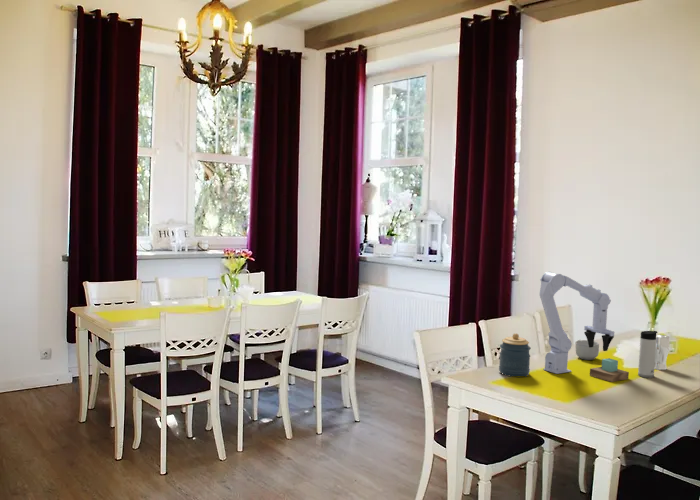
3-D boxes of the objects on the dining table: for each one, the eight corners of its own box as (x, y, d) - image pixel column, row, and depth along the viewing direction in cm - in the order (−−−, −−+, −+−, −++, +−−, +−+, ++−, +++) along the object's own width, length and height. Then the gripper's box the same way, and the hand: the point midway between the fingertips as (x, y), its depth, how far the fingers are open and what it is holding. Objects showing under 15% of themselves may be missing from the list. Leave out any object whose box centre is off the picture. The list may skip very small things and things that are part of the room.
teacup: (601, 361, 303) (602, 345, 302) (578, 360, 303) (579, 344, 302) (591, 354, 317) (592, 338, 316) (569, 354, 317) (570, 338, 316)
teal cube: (610, 372, 272) (611, 361, 271) (601, 369, 275) (602, 359, 275) (617, 370, 274) (617, 360, 273) (608, 368, 278) (609, 358, 277)
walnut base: (611, 381, 267) (611, 374, 267) (589, 375, 277) (590, 368, 277) (628, 378, 273) (628, 372, 273) (606, 372, 282) (606, 365, 282)
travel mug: (656, 378, 274) (659, 332, 273) (639, 377, 276) (642, 331, 274) (652, 374, 281) (655, 330, 279) (636, 373, 282) (639, 329, 280)
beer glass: (664, 366, 295) (666, 335, 294) (670, 370, 289) (672, 338, 287) (648, 366, 296) (650, 334, 295) (654, 370, 289) (656, 337, 288)
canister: (492, 372, 277) (494, 332, 275) (508, 368, 286) (510, 329, 284) (519, 379, 267) (521, 337, 266) (535, 374, 277) (537, 334, 275)
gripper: (619, 321, 281) (617, 351, 282) (592, 315, 294) (590, 344, 295) (609, 322, 278) (607, 353, 279) (581, 316, 290) (580, 346, 291)
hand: (598, 349), depth 287 cm, fingers open, 7 cm apart
